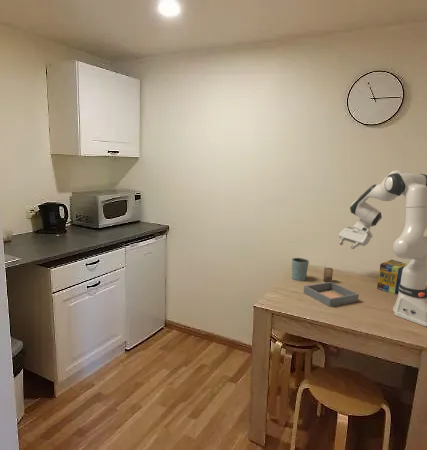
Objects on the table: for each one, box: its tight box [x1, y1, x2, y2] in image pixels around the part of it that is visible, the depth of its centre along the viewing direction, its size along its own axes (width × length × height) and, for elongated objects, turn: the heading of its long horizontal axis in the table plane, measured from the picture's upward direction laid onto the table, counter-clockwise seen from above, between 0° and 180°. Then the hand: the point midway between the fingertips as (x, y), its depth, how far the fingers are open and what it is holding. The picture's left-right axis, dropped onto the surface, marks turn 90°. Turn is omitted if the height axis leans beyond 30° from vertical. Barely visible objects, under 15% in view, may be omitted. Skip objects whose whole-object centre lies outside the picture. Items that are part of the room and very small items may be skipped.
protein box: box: [376, 259, 409, 295], centre depth 214 cm, size 10×15×16 cm
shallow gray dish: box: [303, 282, 360, 307], centre depth 198 cm, size 20×20×4 cm
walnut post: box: [322, 267, 334, 283], centre depth 222 cm, size 5×5×8 cm
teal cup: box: [291, 257, 310, 282], centre depth 225 cm, size 10×10×12 cm
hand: (346, 246), depth 225 cm, fingers open, 8 cm apart
